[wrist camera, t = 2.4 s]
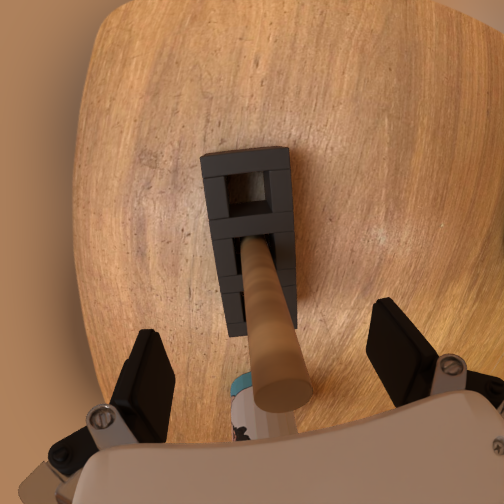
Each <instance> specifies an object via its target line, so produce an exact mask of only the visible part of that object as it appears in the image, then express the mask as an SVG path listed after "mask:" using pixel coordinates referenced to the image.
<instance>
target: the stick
mask: <svg viewBox="0 0 504 504" xmlns="http://www.w3.org/2000/svg"><path fill="white" fill-rule="evenodd" d="M239 240H240V252H241V264H242V276H243V288H244V300H245V311H246V322H247V333H248V344H249V355H250V366H251V376H252V387H253V397H254V402H255V404H256V406H257V407H258V408H260V409H261V410H263V411H266V412H270V413H285V412H290V411H293V410H296V409H298V408H300V407H302V406H303V405H305V404H306V403H307V402H308V401H309V400H310V398H311V397H312V394H313V387H312V384H311V381H310V377H309V374H308V371H307V368H306V364H305V361H304V358H303V355H302V351H301V348H300V345H299V342H298V338H297V335H296V332H295V329H294V326H293V322H292V319H291V316H290V313H289V310H288V307H287V304H286V300H285V297H284V294H283V291H282V288H281V285H280V282H279V279H278V275H277V272H276V269H275V266H274V263H273V260H272V257H271V254H270V251H269V248H268V245H267V242H266V239H265V236H264V234H260V235H251V236H243V237H239Z"/></svg>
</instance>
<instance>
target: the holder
mask: <svg viewBox="0 0 504 504" xmlns="http://www.w3.org/2000/svg"><path fill="white" fill-rule="evenodd" d="M200 163H201V170H202V177H203V184H204V192H205V199H206V205H207V212H208V219H209V226H210V232H211V238H212V245H213V251H214V257H215V263H216V269H217V274H218V280H219V286H220V292H221V297H222V302H223V308H224V313H225V319H226V323H227V329H228V335H229V337H238V336H247V335H248V333H247V322H246V311H245V300H244V296H242V291H244V288H243V276H242V264H241V253H236V246H235V239H234V237H243V236H251V235H260V234H268V233H269V245H270V249H269V251H270V254H271V257H272V260H273V263H274V266H275V269H276V272H277V275H278V279H279V282H280V285H281V288H282V291H283V294H284V297H285V300H286V304H287V307H288V310H289V313H290V316H291V319H292V322H293V326H294V329H297V285H296V254H295V232H294V214H293V197H292V182H291V169H290V156H289V148H288V147H282V146H271V147H259V148H249V149H240V150H231V151H223V152H215V153H208V154H205V155H203V156H201V157H200ZM260 171H263V177H264V188H265V199H266V200H263V201H254V202H245V203H236V204H230V199H229V191H228V183H227V175H233V174H241V173H250V172H260Z"/></svg>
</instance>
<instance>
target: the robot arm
mask: <svg viewBox="0 0 504 504" xmlns="http://www.w3.org/2000/svg"><path fill="white" fill-rule="evenodd" d="M366 354H367V356H368V358H369V360H370V362H371V363H372V365H373V367H374V369H375V371H376V372H377V374H378V376H379V378H380V380H381V381H382V383H383V385H384V387H385V389H386V391H387V393H388V394H389V396H390V398H391V400H392V402H393V404H394V406H395V407H396V408H395V409H392V410H389V411H386V412H383V413H380V414H376V415H373V416H370V417H366V418H363V419H359V420H356V421H352V422H348V423H344V424H340V425H336V426H332V427H328V428H323V429H319V430H314V431H309V432H303V433H298V434H292V435H286V436H279V437H272V438H264V439H256V440H246V441H234V442H218V443H165V442H166V439H167V432H168V425H169V418H170V412H171V406H172V399H173V393H174V387H175V374H174V372H173V369H172V367H171V364H170V362H169V359H168V356H167V354H166V351H165V349H164V346H163V343H162V340H161V338H160V335H159V333H158V332H155V331H154V329H141V330H140V331H139V333H138V336H137V338H136V341H135V344H134V346H133V349H132V351H131V354H130V356H129V359H127V360H126V361H125V362H124V365H123V367H122V370H121V373H120V375H119V378H118V381H117V383H116V386H115V389H114V392H113V395H112V397H111V400H110V403H109V404H100V405H97V406H95V407H93V408H92V409H91V410H90V411H89V412H88V414H87V416H86V424H87V426H85V427H83V428H81V429H80V430H78V431H76V432H74V433H73V434H71V435H69V436H67V437H66V438H64V439H62V440H60V441H58V442H57V443H55V444H54V445H53V446H52V447H51V448H50V450H49V453H48V459H49V460H48V461H47V462H45V461H43V462H42V463H41V464H40V465H39V466H38V467H37V468H36V469H35V470H34V471H33V472H32V473H31V474H30V475H29V476H28V477H27V478H26V479H25V480H24V481H23V482H22V483H21V484H20V486H19V489H18V494H19V497H20V499H21V501H22V502H23V503H24V504H504V381H503V380H502V379H500V378H498V377H494V376H490V375H486V374H482V373H478V372H473V371H469V370H467V365H466V363H465V361H464V360H463V359H462V358H461V357H460V356H458V355H455V354H444V355H442V356H440V357H439V356H438V354H437V352H436V351H435V350H434V348H433V347H432V346H431V345H430V343H429V342H428V341H427V340H426V339H425V337H424V336H423V335H422V334H421V333H420V331H419V330H418V329H417V328H416V327H415V325H414V324H413V323H412V322H411V321H410V319H409V318H408V317H407V316H406V315H405V314H404V313H403V311H402V310H401V309H400V308H399V307H398V306H397V305H396V303H395V302H394V301H393V300H392V299H391V298H390V297H386V298H382V299H378V300H377V301H376V303H374V304H373V309H372V316H371V322H370V328H369V334H368V340H367V345H366Z"/></svg>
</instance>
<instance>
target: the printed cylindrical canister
mask: <svg viewBox="0 0 504 504" xmlns="http://www.w3.org/2000/svg"><path fill="white" fill-rule="evenodd" d="M231 424H232V442H234V441H246V440H256V439H264V438H272V437H279V436H286V435H292V434H298V431H297V426H296V422H295V417H294V412H293V411H290V412H285V413H270V412H266V411H263V410H261V409H260V408H258V407H257V406H256V404H255V402H254V397H253V387H252V376H251V372H249V373H246V374H243V375H241V376H240V377H238V378H237V379H235V381H234V382H233V383H232V386H231Z"/></svg>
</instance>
